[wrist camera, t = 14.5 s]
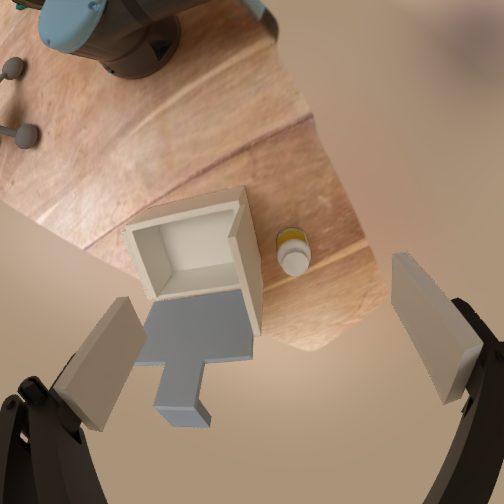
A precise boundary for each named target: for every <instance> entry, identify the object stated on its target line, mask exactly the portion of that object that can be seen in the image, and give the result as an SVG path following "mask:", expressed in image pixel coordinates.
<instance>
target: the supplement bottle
mask: <svg viewBox="0 0 504 504" xmlns="http://www.w3.org/2000/svg"><path fill="white" fill-rule="evenodd" d="M276 244H277V260H278V262H279V264H280V266H281V267H282V268H283V270H284V272H285V273H286V274H288V275H290V276H300V275H302V274H304V273H305V272H306V271H307V269H308V266H309V263H310V260H311V250H310V247H309V243H308V240H307V237H306V234H305V232H304V231H303V230H302V229H300V228H299V227H296V226H288V227H285V228H283V229H282V230H281V231H280V232H279V234H278V235H277V240H276Z"/></svg>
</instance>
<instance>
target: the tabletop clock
mask: <svg viewBox="0 0 504 504" xmlns="http://www.w3.org/2000/svg"><path fill="white" fill-rule="evenodd" d="M12 1H13V2H15V3H17V4H19V5H22V6H25V7H29V8H33V9H37V10H42V7H43V5H44V4H45V1H46V0H12Z"/></svg>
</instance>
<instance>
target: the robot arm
mask: <svg viewBox="0 0 504 504" xmlns="http://www.w3.org/2000/svg"><path fill="white" fill-rule="evenodd" d="M209 1H212V0H46V1H45V4H44V5H43V7H42V10H41V13H40V16H39V22H38V30H39V35H40V38H41V40H42V42H43V43H44V44H45V45H46V46H48V47H50V48H52V49H56V50H58V51H59V52H61V53H66V54H72V55H77V56H81V57H86V58H90V59H94V60H98V61H99V62H100V63H101V64H102V66H103V67H104V68H105V69H106V70H107V71H108V72H109V73H111V74H113V75H115V76H117V77H121V78H125V79H138V78H142V77H146V76H148V75H150V74H152V73H154V72H156V71H157V70H159V69H160V68H161V67H163V66H164V65H165V64H166V63H167V62H168V61H169V60H170V58H171V57H172V56H173V54H174V53H175V51H176V49H177V47H178V44H179V41H180V35H181V29H180V24H179V21H178V19H177V18H176V16H175V15H174V14H177V13H179V12H182V11H184V10H187V9H190V8H192V7H195V6H198V5H201V4H203V3H206V2H209ZM391 304H392V306H393V307H394V309H395V311H396V313H397V314H398V316H399V318H400V320H401V321H402V323H403V325H404V327H405V329H406V330H407V332H408V334H409V336H410V338H411V340H412V342H413V343H414V345H415V347H416V349H417V351H418V353H419V355H420V357H421V359H422V361H423V363H424V365H425V367H426V369H427V371H428V373H429V375H430V377H431V379H432V381H433V383H434V385H435V387H436V389H437V392H438V394H439V396H440V398H441V400H442V402H443V405H445V404H448V403H450V402H453V401H455V400H458V399H460V398H461V397H462V395H463V392H464V390H465V388H466V389H467V391H468V393H469V395H470V396H469V398H468V400H467V402H466V404H465V406H464V408H463V409H462V411H461V412H462V413H463V415H462V418H461V421H460V424H459V427H458V430H457V432H456V435H455V437H454V440H453V442H452V445H451V447H450V450H449V452H448V454H447V457H446V459H445V461H444V463H443V466H442V468H441V470H440V472H439V474H438V476H437V478H436V480H435V482H434V484H433V486H432V488H431V490H430V491H429V493H428V495H427V497H426V499H425V500H424V502H423V504H488V502H489V499H490V497H491V494H492V492H493V489H494V486H495V484H496V481H497V478H498V475H499V472H500V469H501V466H502V463H503V460H504V342H499V341H498V339H497V338H496V337H495V336H494V334H493V333H492V332H491V330H490V329H489V328H488V327H487V325H486V324H485V323H484V322H483V320H482V319H480V317H479V316H478V314H477V313H475V311H474V310H473V309H472V307H471V306H470V305H469V304H468V303H467V302H465V301H463V300H461V299H459V298H455V299H452V300H450V299H449V298H448V297H447V296H446V295H445V293H444V292H443V291H442V290H441V289H440V288H439V286H438V285H437V284H436V283H435V282H434V281H433V279H432V278H431V277H430V276H429V275H428V274H427V273H426V272H425V271H424V269H423V268H422V267H421V266H420V265H419V264H418V263H417V262H416V261H415V260H414V259H413V257H412V256H411V255H410V254H409V253H408V252H407V251H405V252H400V253H395V254H392V294H391ZM147 338H148V336H147V334H146V333H145V331H144V328H143V326H142V324H141V322H140V320H139V318H138V316H137V314H136V312H135V310H134V308H133V305H132V304H131V301H130V299H129V297H120V298H117V299H116V300H115V301H114V302H113V304H112V305H111V306H110V308H109V309H108V310H107V312H106V313H105V314H104V316H103V317H102V318H101V320H100V321H99V322H98V323H97V325H96V326H95V328H94V329H93V330H92V332H91V333H90V334H89V336H88V337H87V338H86V340H85V341H84V343H83V344H82V345H81V347H80V348H79V350H78V351H77V352H76V353H75V354H74V355H73V356H72V357H71V358H70V360H69V361H68V363H67V365H66V366H65V367H64V369H63V371H62V372H61V373H60V374H59V376H58V377H57V379H56V380H55V382H54V383H53V385H52V386H51V388H50V389H49V391H48V390H47V388H46V387H45V386H44V385H43V383H42V382H41V381H40V379H39V378H38V377H37V376H31V377H28V378H27V379H25V380H24V381H23V382H22V383H21V384H20V386H19V388H18V391H17V392H18V393H19V394H20V395H21V397H22V398H23V399H24V400H25V401H26V402H23V401H22V400H21V398H20V397H19V396H18V395H16V394H15V395H11V396H9V397H8V398H6V399H5V401H4V402H3V404H2V407H1V411H0V504H108V503H107V500H106V498H105V496H104V493H103V490H102V488H101V485H100V482H99V480H98V477H97V474H96V471H95V469H94V465H93V462H92V459H91V456H90V453H89V449H88V446H87V442H86V439H85V435H84V432H83V430H82V428H81V427H80V424H81V422H83V423H84V424H85V425H86V426H87V427H88V428H89V429H90V430H95V431H99V432H102V431H103V429H104V427H105V424H106V422H107V420H108V418H109V416H110V414H111V411H112V409H113V407H114V405H115V403H116V401H117V399H118V397H119V395H120V392H121V390H122V388H123V386H124V383H125V382H126V380H127V378H128V376H129V374H130V372H131V369H132V367H133V366H134V364H135V362H136V360H137V358H138V356H139V354H140V352H141V350H142V348H143V346H144V344H145V342H146V340H147ZM20 433H23V434H24V435H25V436H26V437H27V438H28V442H27V443H26V442H25V441H24V440H23V439H22V438H21V437H20Z"/></svg>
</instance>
